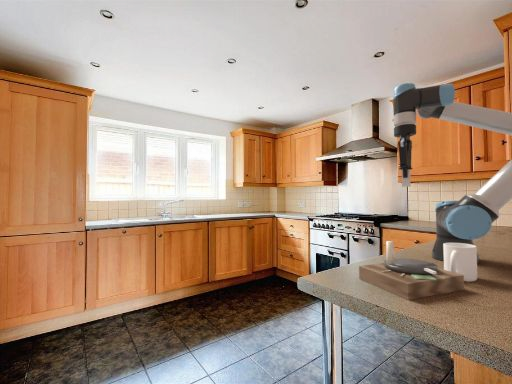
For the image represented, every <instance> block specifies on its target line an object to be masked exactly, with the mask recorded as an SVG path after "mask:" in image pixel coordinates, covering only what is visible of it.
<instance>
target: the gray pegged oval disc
mask: <svg viewBox="0 0 512 384" xmlns="http://www.w3.org/2000/svg"><path fill="white" fill-rule="evenodd" d="M385 247H386V259H385V260H384V261H383V263H384V266H385V267H386V268H388V269H390V270H393V271H396V272H401V273H407V274H417V275H429V274H437V272H438V268H439V266H438V264H435V263H433V262H430V261H427V260H421V259H417V258H416V259H414V258H405V257H404V258H403V257H399V258H398V257H397V258H396V257H395V245H394V241H391V240H386V242H385Z"/></svg>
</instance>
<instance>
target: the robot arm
mask: <svg viewBox="0 0 512 384" xmlns="http://www.w3.org/2000/svg"><path fill="white" fill-rule="evenodd" d="M392 95H393V96H392V105H393V110H392V111H393V118H392V120H391V122H393V127H394V128H393V136H394V137H395V138H399V140H398V141H397V145H398V153H399V155H398V157H399V168H398V170H400V171H401V187H402V188H405V187H412V186H411V185H412V184H411V170H413V167H412V151H413V150H412V148H413V141H412V140H411V138H410V137H412V136H413V137H414V136H416V135H417V124H416V123H417V115H418V117H420V118H421V119H432V118H433V119H437V120H442V121H446V122H451V123H456V124H460V125H463V126H469V127H473V128H477V129H482V130H486V131H491V132H493V133H494V132H495V133H500V134H503V135H508V136H511V137H512V112H508V111H504V110H498V109H493V108H489V107H484V106H477V105H474V104H473V105H472V104H469V103H463V102H459V101H455V96H456V88H455V86H454V84H453V83H446V84H445V83H444V84H443V83H442V84H438V85H432V86H425V87H420V88H419V87H418V88H417V87H416V85H415V83H413V82H406V83H401V84H399V85H397V86H396V87H394V89H393V94H392ZM511 200H512V158H511V159H510V160H509V161H508V162H506V163H505V165H503V167H501V169H500V170H498V171H497V172H496V173H495V174H494V175H493V176H492V177H490V179H488V180H487V181H486V182H485V183H484V184H482V185H481V186H480V187H479V188H478V189H477V190H476V191H475V192H474V193H471V194H465V195H463V196H462V197H461V199H459V200H446V201H439V202H436V204H435V209H434V211H435V225H436V226H435V229H436V231H435V232H436V233H435V234H436V235H435V236H436V239H435V242H434V245H433V247H432V250H431V257H432V258H433V259H436V260H438V261H443V262H444V250H443V244H444V243H464V244H471V245H475V243H474V241H473V240H477V239H481V238H483V237H485V236H486V235H487V234H488V233H489V232H490V230H491V228H492V225H493V223H494V222H495V221H496V220H498V219H499V218H500V212H499V211H500V210H501V209H502V208H503V207H504V206H506V205H507V204H508V203H509V202H510V201H511ZM479 262H480V256H479V254H478V252H477V263H479Z"/></svg>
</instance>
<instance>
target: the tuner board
mask: <svg viewBox="0 0 512 384" xmlns="http://www.w3.org/2000/svg"><path fill="white" fill-rule="evenodd" d="M358 273H359V274H358V276H359V277H358V278H359V279H360V280H361V281H363V282H366V283H369V284H370V285H373V286H375V287H377V288H379V289H381V290H384V291H387V292H389V293H392V294H394V295H396V296H398V297H400V298H403V299H404V300H405V299H406V301H407V300H414V299H421V298H425V297H430V296H437V295H443V294H448V293H455V292H459V291H464V290H465V281H464V275H461V274H457V273H454V272H450V271H446V270H444V269H442V268H439V267H438V272H437V274H429V275H417V274H407V273H401V272H396V271H393V270H390V269H388V268H386V267H385V266H384V262H381V263H374V264H365V265H359V266H358Z"/></svg>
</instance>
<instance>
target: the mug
mask: <svg viewBox="0 0 512 384" xmlns="http://www.w3.org/2000/svg"><path fill="white" fill-rule="evenodd" d="M477 247H478V246H477V245H475V244H474V245H471V244H464V243H444V244H443V250H444V261H443V270H446V271H450V272H454V273H457V274H461V275H464V282H465V281H466V282H475V281H477V280H478V262H477V253H478V251H477V250H478V249H477Z"/></svg>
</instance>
